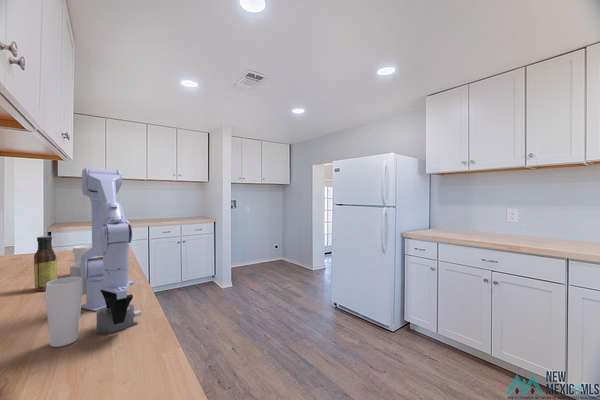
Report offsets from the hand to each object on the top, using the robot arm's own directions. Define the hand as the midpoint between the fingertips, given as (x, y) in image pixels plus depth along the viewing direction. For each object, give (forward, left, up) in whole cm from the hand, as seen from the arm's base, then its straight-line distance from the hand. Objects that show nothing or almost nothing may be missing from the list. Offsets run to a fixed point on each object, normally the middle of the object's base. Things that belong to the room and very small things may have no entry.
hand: (115, 318), depth 73 cm
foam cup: (-28, -59, -3) cm, 65 cm away
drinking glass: (+9, -4, -3) cm, 11 cm away
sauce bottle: (-11, -54, -3) cm, 55 cm away
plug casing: (0, 0, -3) cm, 3 cm away
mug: (-16, -38, -3) cm, 41 cm away
